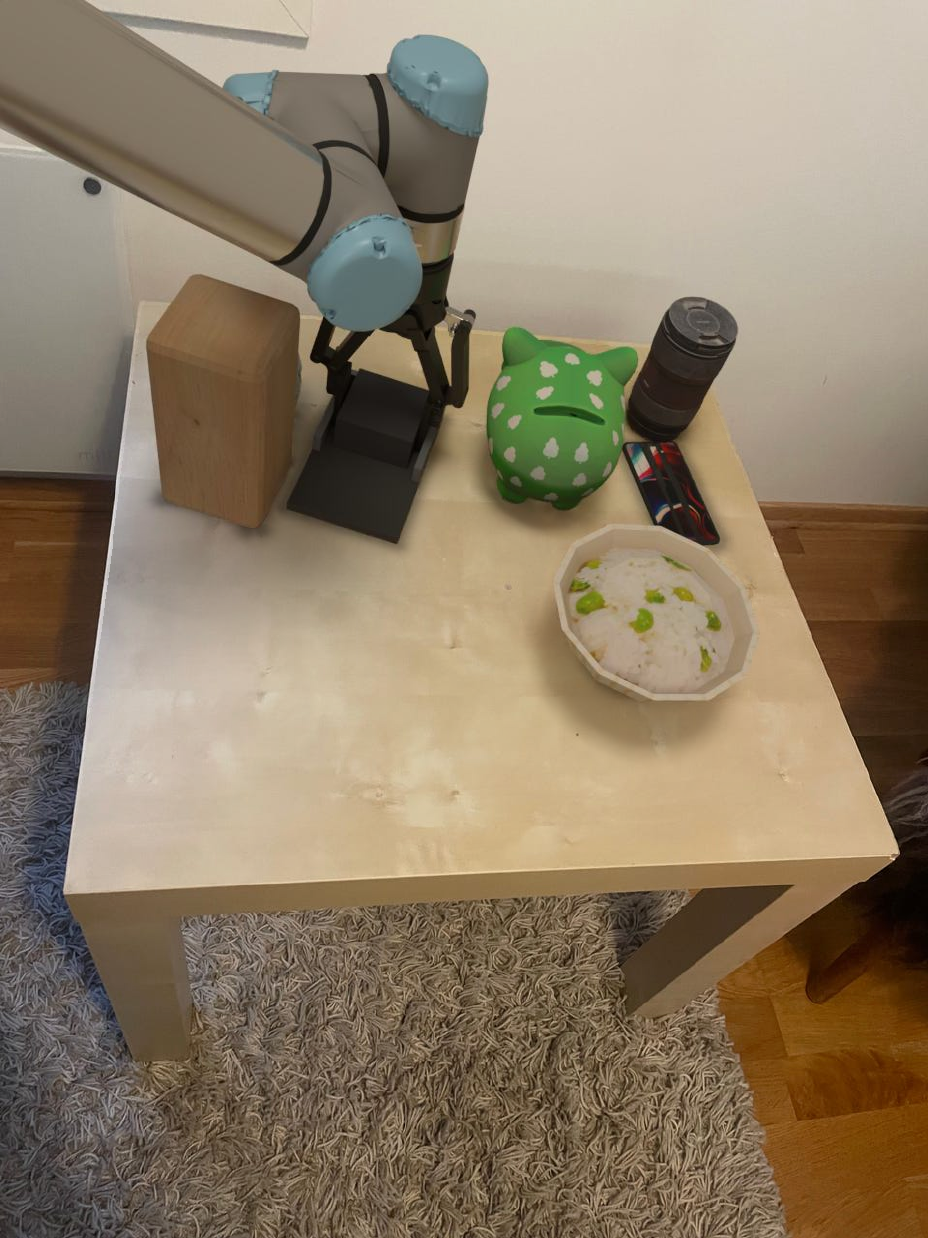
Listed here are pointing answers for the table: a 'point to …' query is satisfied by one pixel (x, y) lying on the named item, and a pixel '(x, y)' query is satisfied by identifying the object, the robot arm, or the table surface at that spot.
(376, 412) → the foam pad
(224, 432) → the wooden block
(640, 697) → the bowl
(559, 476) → the piggy bank
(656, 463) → the smartphone
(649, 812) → the table surface
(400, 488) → the black tray
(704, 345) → the camera lens
